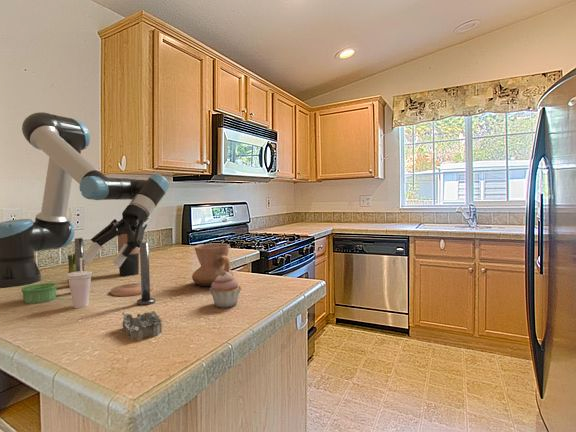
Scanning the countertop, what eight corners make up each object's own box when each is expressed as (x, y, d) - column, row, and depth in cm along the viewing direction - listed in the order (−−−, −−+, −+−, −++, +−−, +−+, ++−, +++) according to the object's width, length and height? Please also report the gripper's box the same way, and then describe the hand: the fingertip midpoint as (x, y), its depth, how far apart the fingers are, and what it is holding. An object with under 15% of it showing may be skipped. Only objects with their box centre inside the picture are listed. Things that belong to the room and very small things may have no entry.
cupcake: (206, 302, 103) (205, 269, 102) (237, 298, 106) (236, 266, 106) (212, 311, 94) (211, 275, 94) (245, 307, 98) (245, 272, 97)
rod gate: (68, 292, 115) (66, 239, 114) (83, 289, 119) (81, 237, 118) (145, 306, 100) (143, 244, 99) (158, 301, 104) (156, 242, 103)
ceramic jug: (183, 283, 126) (182, 244, 125) (217, 277, 136) (217, 241, 135) (208, 293, 113) (207, 250, 112) (245, 285, 123) (244, 245, 122)
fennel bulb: (70, 288, 121) (68, 254, 120) (64, 286, 124) (63, 253, 123) (87, 284, 125) (86, 252, 125) (82, 283, 128) (80, 250, 128)
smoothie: (98, 303, 102) (96, 257, 102) (79, 310, 96) (77, 260, 96) (82, 301, 104) (80, 256, 104) (62, 308, 98) (60, 259, 98)
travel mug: (142, 272, 146) (141, 225, 145) (133, 276, 138) (131, 226, 137) (125, 272, 147) (124, 225, 146) (115, 276, 139) (113, 226, 138)
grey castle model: (120, 328, 83) (120, 311, 83) (153, 322, 88) (152, 306, 88) (129, 343, 75) (128, 324, 74) (164, 335, 79) (164, 317, 79)
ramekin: (54, 294, 113) (53, 281, 113) (60, 300, 107) (60, 286, 107) (19, 300, 107) (19, 286, 107) (24, 306, 101) (23, 291, 101)
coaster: (102, 293, 114) (101, 290, 113) (134, 284, 125) (134, 281, 125) (130, 298, 108) (129, 294, 108) (161, 288, 120) (161, 285, 120)
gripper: (172, 218, 114) (137, 273, 102) (119, 218, 125) (82, 267, 112) (159, 203, 109) (121, 258, 97) (105, 203, 120) (64, 253, 107)
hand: (100, 263), depth 104 cm, fingers open, 13 cm apart
